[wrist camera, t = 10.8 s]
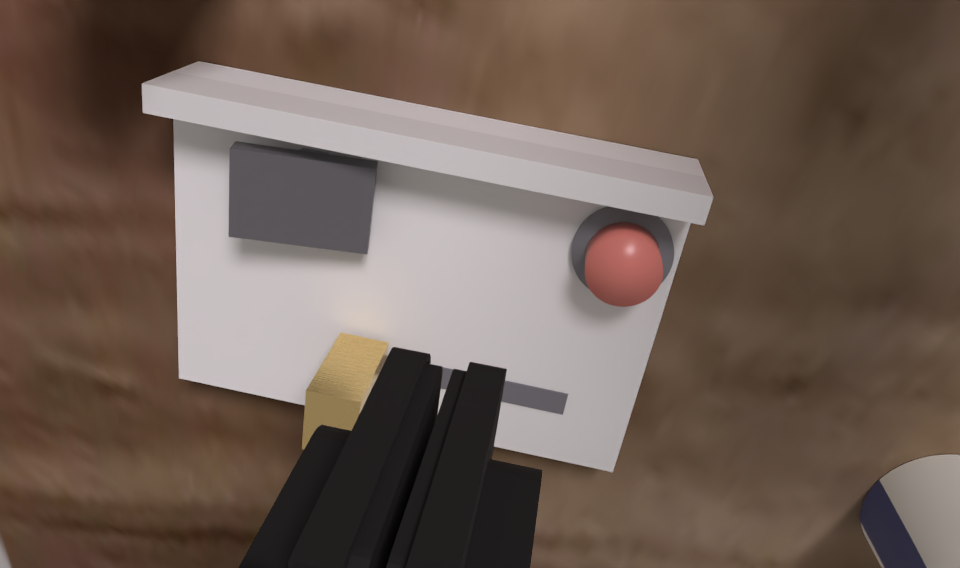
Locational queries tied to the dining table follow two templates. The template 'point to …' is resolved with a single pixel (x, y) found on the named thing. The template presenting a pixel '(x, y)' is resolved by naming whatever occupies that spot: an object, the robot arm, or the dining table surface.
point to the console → (425, 253)
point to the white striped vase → (915, 514)
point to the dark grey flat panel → (301, 197)
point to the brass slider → (343, 383)
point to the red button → (623, 264)
